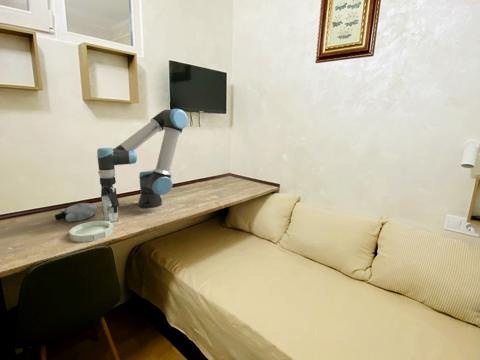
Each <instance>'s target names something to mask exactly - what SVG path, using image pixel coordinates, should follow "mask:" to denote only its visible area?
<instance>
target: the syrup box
mask: <svg viewBox="0 0 480 360" xmlns="http://www.w3.org/2000/svg"><path fill="white" fill-rule="evenodd" d="M101 201H102V202H101V204H102V213H103V221H109V222H111V223H114V222H118V221H119V217H118V218H115V219H113V218H112V208H111V206H112V204H111V201H110V198H109V196H108V195H106V196H102V200H101ZM118 207H119V206H117V209H118ZM118 210H119V209H118Z"/></svg>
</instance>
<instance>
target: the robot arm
mask: <svg viewBox="0 0 480 360" xmlns="http://www.w3.org/2000/svg"><path fill="white" fill-rule="evenodd" d="M188 123H189V118H188V116H187V113H186V112H185V111H184V110H183V109H180V108H174V109H173V108H172V109H171V108H170V109H169V108H168V109H164V110H162V111H160V112H158V113H157V114H156V115H154V116H153V117H151V119H150V122H148V123H147V124H145V125H144V126H143V127H142V128H140V129H139V130H137V131H136V132H134V133H133V134H132V135H130V136H129V137H128V138H127V139H125V140H124V141H123V142H122V143H120V144H119V145H116V147H115V148H112V147H100V148H98V149H97V151H96V154H97V156H96V158H97V164H98V172H97V173H98V175H99V177H100V178H99V184H100V187H101V190H100V200H101V201H102V196H106V195H108V196H109V198H110V201H111V204H112V206H111V208H112V218H113V219H115V218H118V219H119V209H117V206H118V207H119V206H120V203H119V199H118V193H117V188H116V187H114V185H115V184H117V183H116V169H115V166H121V165H124V166H125V165H132V164H136V163H137V160H138V155H137V153H136V151H135V150H136V149H138V148H139V147H141V146H142V145H143V144H144V143H145V142H147V141H148V140H149V139H150V138H152V137H153V136H154V135H156V134H157V133H158V132H160V133H161V132H163V131H164V134H163V137H162V142H161V145H160V150H159V153H158V159H157V163H156V166H155V168H154V169H152V170H147V171H144V170H143V171H140V172H139V174H138V175H139V177H138V178H139V190H140V195H139V199H138V204H137V205H138V207H139V208H143V209H145V208H146V209H151V208H152V209H153V208H157V207H160V206H162V205H163V200H162V197H161V196H163V195H164V196H165V195H166V194H168V193H169V192H171V190H172V189H173V181H172V174H171V168H172V165H173V161H174V156H175V152H176V148H177V144H178V140H179V135H181V134H182V133H183V129H184V128H186V127H187V126H188Z"/></svg>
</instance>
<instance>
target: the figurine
mask: <svg viewBox="0 0 480 360" xmlns="http://www.w3.org/2000/svg"><path fill="white" fill-rule="evenodd" d="M96 211H98V206H97V205H95V204H94V203H89V202H80V203H76V204H72V205H70V206H68V207H67V208H62V209H60V211H59V213H57V214H55V215H54V218H55V220H56V221H61V220H66V221H67V222H80V221H83V220H86V219H89V218H91V217H95V214H94V212H96Z"/></svg>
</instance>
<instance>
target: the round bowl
mask: <svg viewBox="0 0 480 360" xmlns="http://www.w3.org/2000/svg"><path fill="white" fill-rule="evenodd" d="M114 225H115V224H114V222H109V221H104V220H91V221H87V222H84V223H80V224H77V225H75V226H73V227H72V228H71V229H70V230H69V231H68V234H69V238H70V239H71V241H72V242H79V243H85V242H95V241H99V240H102V239H106V238H107V237H109V236H111V235H112V234H113V233H114V230H115V226H114Z"/></svg>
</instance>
